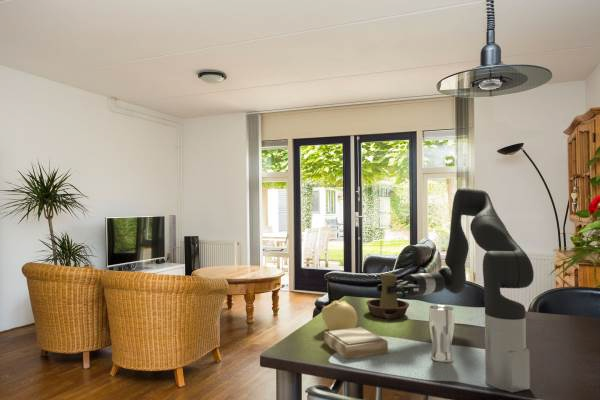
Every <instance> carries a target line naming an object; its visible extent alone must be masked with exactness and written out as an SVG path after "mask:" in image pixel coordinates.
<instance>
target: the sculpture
mask: <svg viewBox="0 0 600 400" xmlns="http://www.w3.org/2000/svg"><path fill="white" fill-rule="evenodd" d="M321 316H322V317H321V318H322V319H321V320H323V321H324V324H325V326H326V328H327V329H328V331H333V330H341V329H350V328H357V327H356V326H357V325H358V314H357V312H356V310H355V307H354V306H352V305H350V304H349V303H348V302H347V300H343V301H342V300H333V301H331V303H330V304H328V305H326V306H323V307H322V308H321Z"/></svg>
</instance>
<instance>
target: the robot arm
mask: <svg viewBox="0 0 600 400" xmlns="http://www.w3.org/2000/svg"><path fill="white" fill-rule="evenodd" d="M462 216H466V217H467V216H468V217H473V219H472V220H471V222H470V225H469V226H470V227H469V228H470V229H469V230H470V233H471V234H472V235H471V236H472V238H473V239H474V241H475V243H476V244H477V246H478V247H480V248H481V249H483V250H484V251H485V253H484V255H483V259H482V277H483V279H482V280H483V295H484V296H483V297H484V300H483V301H484V355H485V357H484V364H485V369H484V370H485V371H484V372H485V383H486V384H487V385H489V386H490V387H493V388H495V389H498V390H503V391H507V392H510V393H517V392H521V391H525V390H530V389H531V387H530V386H531V374H530V372H531V369H530V368H531V364H530V363H531V362H530V356H531V355H530V353H531V352H530V350H529V348H527V345H526V344H527V341H526V335H527V333H526V332H527V331H526V328H527V327H526V326H527V325H526V307H525V305H524V304H522V303H521V302H519V301H516V300H513V299H510V298H507V297H506V296H505V295H502V293H501V289H524V288H528V287H530V285H531V284H532V283H533V281H534V279H535V278H534V276H535V273H534V267H533V264H532V262H531V259H530V258H529V256H528V255H527V253H526V252H525V251H524V250H523V249H522V247H521V246H520V245H519V244H518V243H517V242H516V241H515V240H514V238H513V237H512V236H511V234H510V233H509V231H508V229H507V228H506V225H505V224H504V222H503V221H502V220H501V217H500V216H499V215H498V214H497V211H496V209H495V208H494V205H493V203H492V200H491V198H490V195H489V194H488V193H487V192H486V191H485V190H482V189H474V188H466V187H460V188H457V190H456V191H455V193H454V195H453V201H452V207H451V217H450V227H449V228H450V229H449V238H448V239H449V240H448V244H447V245H448V246H447V250H446V254H445V258H444V259H445V260H444V263H445V265H446V267H445V266H444V267H441V268H439V269H437V270H435V271H433V272H427V273H424V272H422V273H421V272H419V273H411V274H406V275H405V276H404V277H403V279H397V280H396V283H395V286H390V287H387V288H386V293H387V294H392V293H396V295H399V294H401V295H406V296H409V297H411V298H412V297H418V296H419V297H420V296H426V295H429V294H434V293H439V292H441V291H443V290H445V289H446V290H447V291H448V292H450V293H452V294H460V293H461V292H462V291H463V290H464V289H465V287H466V281H467V277H466V276H467V273H466V262H467V259H468V254H469V249H470V248H469V241H468V238H467V237H466V234H465V232H464V230H463V226H462ZM381 291H382V283H381V284H380V283H379V284H377V285H376V292H379V293H381Z"/></svg>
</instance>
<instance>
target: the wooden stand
mask: <svg viewBox="0 0 600 400" xmlns="http://www.w3.org/2000/svg"><path fill="white" fill-rule="evenodd" d="M323 344H325V345H326V346H328V347H329V348H331V349H332V350H334V351H335V352H336V353H337V354H339V355H340V356H341V357H343V358H344V359H346V360H350V359H351V360H352V359H358V358H363V357H364V358H365V357H370V356H377V354H379V355H383V353H385V354H388V353H389V351H388V348H389V347H388V346H389V341H388V340H387V339H384V338H382V337H380V336H378V335H377V334H375V333H373V332H371V331H369V330H367V329H366V328H363V327H360V326H359V327H355V328H350V329H341V330H333V331H330V330H328V331H327V330H326V331H323Z"/></svg>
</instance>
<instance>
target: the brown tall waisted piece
mask: <svg viewBox="0 0 600 400" xmlns="http://www.w3.org/2000/svg"><path fill="white" fill-rule="evenodd" d="M396 281H398V279H397V275H396V274H395V273H390V272H389V273H382V274H381V275H380V282H381V284H382V291H381V292H380V299H381V300H380V307H381V308H385V309H396V308H398V302H397V300H398V296H397V295H398V294H397V293H392V294H387V293H386V288H387V287H390V286H395V283H396Z"/></svg>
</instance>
